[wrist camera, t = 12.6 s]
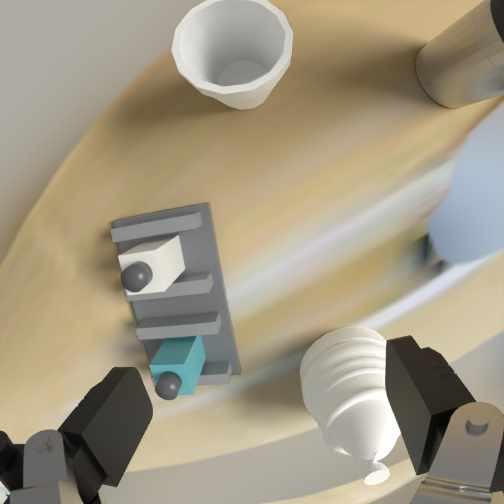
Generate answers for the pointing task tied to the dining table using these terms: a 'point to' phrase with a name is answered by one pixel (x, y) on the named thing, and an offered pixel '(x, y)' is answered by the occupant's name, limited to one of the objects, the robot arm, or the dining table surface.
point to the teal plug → (177, 366)
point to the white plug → (151, 265)
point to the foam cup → (233, 50)
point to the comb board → (185, 290)
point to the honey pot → (351, 396)
